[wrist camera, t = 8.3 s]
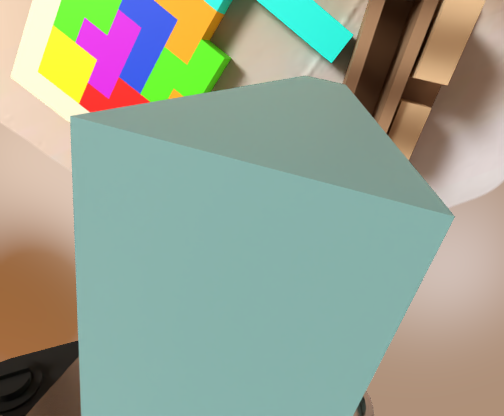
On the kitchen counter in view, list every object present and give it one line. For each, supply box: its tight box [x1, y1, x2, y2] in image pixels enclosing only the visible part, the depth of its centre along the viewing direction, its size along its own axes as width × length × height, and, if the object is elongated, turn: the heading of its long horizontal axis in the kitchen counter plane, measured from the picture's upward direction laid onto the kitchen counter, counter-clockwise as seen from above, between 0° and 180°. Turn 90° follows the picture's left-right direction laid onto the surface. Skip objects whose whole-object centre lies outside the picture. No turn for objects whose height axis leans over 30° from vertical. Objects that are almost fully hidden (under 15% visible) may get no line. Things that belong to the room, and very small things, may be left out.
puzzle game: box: [10, 0, 353, 123], centre depth 36 cm, size 30×3×30 cm
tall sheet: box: [70, 76, 455, 416], centre depth 11 cm, size 12×2×16 cm, turn 169°
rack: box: [343, 0, 442, 133], centre depth 31 cm, size 16×9×6 cm, turn 167°
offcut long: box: [409, 0, 486, 86], centre depth 28 cm, size 6×3×6 cm, turn 168°
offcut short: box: [386, 98, 432, 160], centre depth 32 cm, size 5×3×4 cm, turn 167°
